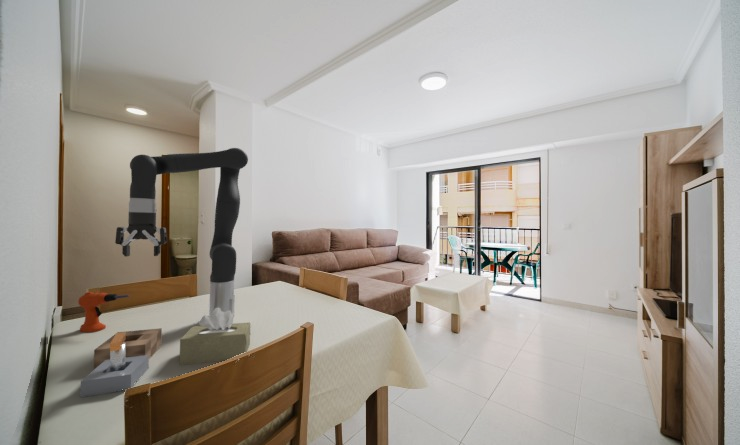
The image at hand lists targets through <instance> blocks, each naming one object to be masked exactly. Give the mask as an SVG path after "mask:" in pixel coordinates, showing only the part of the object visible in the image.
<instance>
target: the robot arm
mask: <svg viewBox="0 0 740 445" xmlns="http://www.w3.org/2000/svg"><path fill="white" fill-rule="evenodd" d="M248 163H249V157H248V155H247V153H246V152H245V151H244V150H243V149H241V148H239V147H230V148H228V149H223V150H219V151H211V152H191V153H190V152H189V153H188V152H187V153H169V154H165V155H159V156H149V155H148V154H147V155H146V154H138V155H135V156H134V157H132V159H131V161H130V163H129V169H130V170H131V171H130V172H131V174H130V175H131V176H130V177H131V183H130V187H129V202H128V218H127V219H128V221H127V223H128V227H124V226H118V227H116V231H115V242H114V243H115V244H116V245H120V246H121V247H122V248H121V249H122V250H121V252H122V255H123V256H124V257H130V256H131V243H132V242H134V241H135V240H149V242H152V244H153V245H154V246H153V256H154V257H158V256H159V255H160V254H161V246H162V245H165V244H167V243H168V233H167V228H166V227H157V203H156V192H157V191H156V182H157V175H163V174H165V175H166V174H177V173H179V174H180V173H187V172H195V171H201V170H206V169H215V168H219V169H220V170H219V171H220V176H219V183H218V189H217V197H216V201H215V210H214V231H213V237H212V240H211V241H212V242H211V245H210V250H209V258H210V260H211V273H210V275H209V276H210V277H209V278H210V279H209V306H208V307H209V309H208V310H209V311H208V312H209V314H208V316H209V315H211V313H212V312H213V310H214V309H215V308H220V309H221V311H222V312H226V311H228V310H229V311H231V313H232V314H233V315H234V316H235V302H236V301H235V299H236V298H235V275H236V273H237V272H236V271H237V250H236V249H235V248H234V246H232V245H233V244H232V243H233V232H234V229H235V226H236V224H237V221H238V218H239V214H240V207H241V206H240V205H241V194H240V189H239V185H238V184H239V182H238V181H239V176H240V171H241V170H242V169H243V168H245V167H246V166H247V164H248ZM157 232H158V234H159V236H160V240H159V238H158V237H157V236H156V235H155V233H157ZM126 233H129V235H128V236H127V237H126V238H125V234H126Z"/></svg>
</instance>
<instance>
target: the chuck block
mask: <svg viewBox="0 0 740 445" xmlns="http://www.w3.org/2000/svg"><path fill="white" fill-rule="evenodd" d="M162 331H163V330H162V327H160V328H150V329H138V330H129V331H125V332H126V339H125V341H124V342H125V343H126V358H127V357H135V356H144V355H149V360H150V359H151V358H152V357H153V355H154V354H156V352H157V351H158V350H159V349H160V347H162V334H163V333H162ZM123 332H124V331H118V332H116V333H115V334H117V333H123ZM115 334H114V335H112V336H111V337H110V338H108V339H106V340H105V341H104V342H103V343H101V344H100V345H99V346H97V347H96V348H95V349H94V350H93V370H94V369H96V368H97V367H98V366H99V365H100V364H101V363H103V362H104V361H105V360H110V343H111V341H112V340H113V338H114V336H115Z"/></svg>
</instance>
